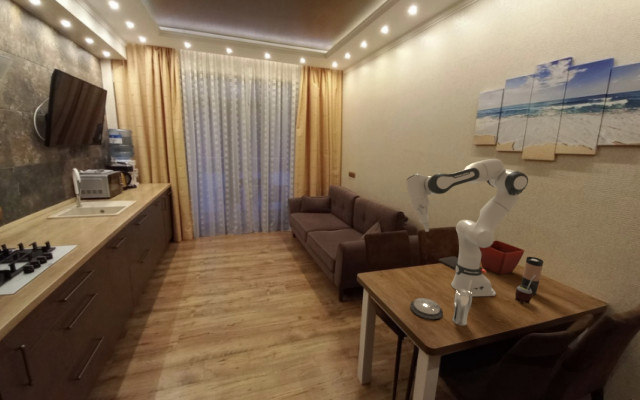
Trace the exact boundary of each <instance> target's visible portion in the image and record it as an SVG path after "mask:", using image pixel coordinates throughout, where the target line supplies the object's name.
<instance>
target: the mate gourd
mask: <svg viewBox="0 0 640 400" xmlns="http://www.w3.org/2000/svg"><path fill="white" fill-rule="evenodd" d="M535 276H536V275H535ZM535 276H534V277H535ZM534 277H533V278H534ZM533 278H532V279H531V281H530V283H529V285H528V287H527V286H522V285H518V286H517V287H516V289H515V299H514V300H515V301H519V302H520V303H521V304H522V305H523V304H524V303H525V304H530V303H531V302H530V301H531V299H532V298H533V295H532V290H531V289H530V288H529V286H530V284H531V282H532V280H533Z"/></svg>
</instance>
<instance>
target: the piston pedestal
mask: <svg viewBox="0 0 640 400" xmlns="http://www.w3.org/2000/svg"><path fill="white" fill-rule="evenodd" d="M409 307H410V311H411V312H412V313H413V314H414V315H416V316H418V317H419V318H421V319H424V320H429V321H437V320H440V319H442V318H443V316H444V315H443V314H444V311H443V310H442V308H441V306H440V304H438V303H437V302H436V301H434V300H432V299H429V298H425V297H419V298H416V299H414V300H413V301H411V303H410V306H409Z"/></svg>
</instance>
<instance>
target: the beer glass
mask: <svg viewBox="0 0 640 400" xmlns="http://www.w3.org/2000/svg"><path fill="white" fill-rule="evenodd" d="M472 301H473V296H472V293H471V292H470V291H468V290H465V289H457V290H456V289H455V293H454V299H453V308H454V309H453V311H454V312H453V316H452V320H451V321H452V322H453V323H454V324H456V325H458V326H460V327H461V326H462V327H464V326H467V324H468V322H467V318H468V314H469V311H470V310H471V307H472V304H473V303H472Z"/></svg>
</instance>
